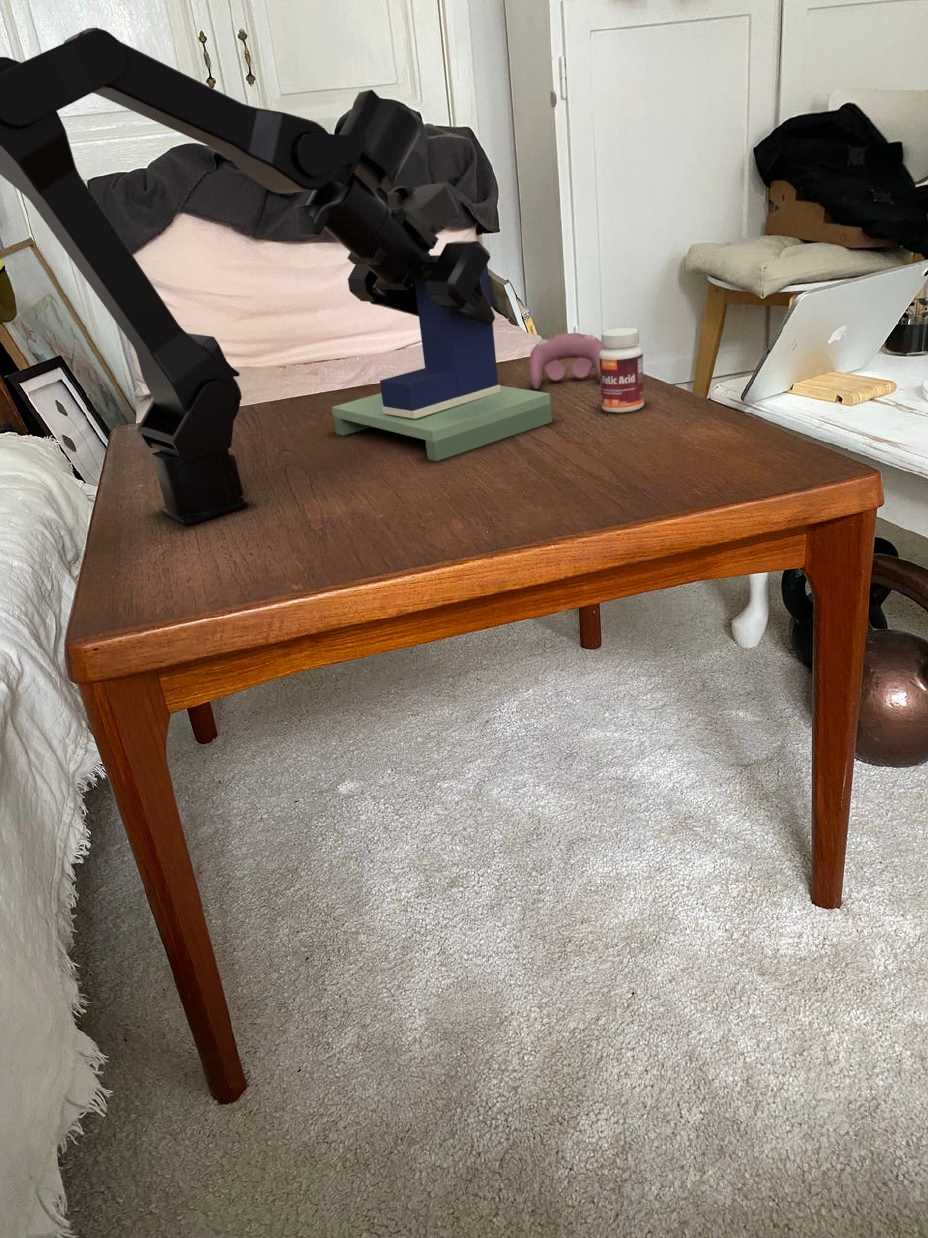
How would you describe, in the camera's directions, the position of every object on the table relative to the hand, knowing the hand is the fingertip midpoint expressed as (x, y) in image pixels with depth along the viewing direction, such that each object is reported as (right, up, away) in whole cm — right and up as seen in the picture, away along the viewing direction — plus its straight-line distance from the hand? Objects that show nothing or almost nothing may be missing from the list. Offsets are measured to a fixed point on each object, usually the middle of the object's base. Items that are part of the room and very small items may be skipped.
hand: (465, 319), depth 104 cm
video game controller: (+13, -3, +16) cm, 21 cm away
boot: (-2, -9, 0) cm, 9 cm away
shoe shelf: (-3, -11, +3) cm, 12 cm away
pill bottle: (+18, -9, +2) cm, 20 cm away
